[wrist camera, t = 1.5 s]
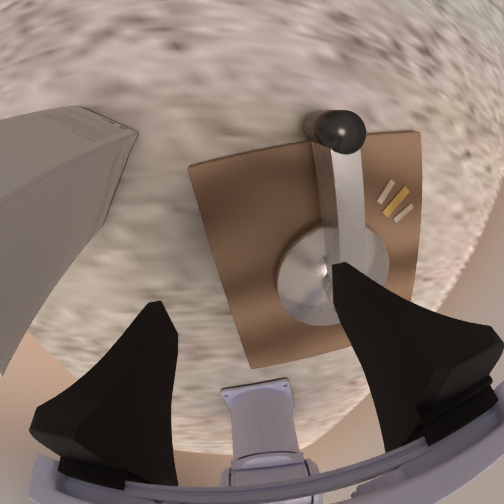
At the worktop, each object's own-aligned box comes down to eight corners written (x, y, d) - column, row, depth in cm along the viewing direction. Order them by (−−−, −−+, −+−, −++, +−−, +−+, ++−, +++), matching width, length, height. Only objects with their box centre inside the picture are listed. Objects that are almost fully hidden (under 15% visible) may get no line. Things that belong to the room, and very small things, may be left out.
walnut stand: (400, 322, 27) (405, 329, 26) (250, 362, 27) (251, 370, 26) (412, 130, 17) (421, 132, 16) (189, 165, 18) (187, 168, 17)
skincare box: (78, 104, 14) (-103, 142, 1) (145, 134, 16) (-34, 210, 3) (47, 203, 18) (-79, 316, 4) (105, 234, 19) (0, 388, 6)
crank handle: (379, 301, 23) (402, 336, 19) (284, 326, 23) (294, 368, 19) (375, 105, 15) (416, 107, 11) (242, 121, 15) (247, 123, 11)
